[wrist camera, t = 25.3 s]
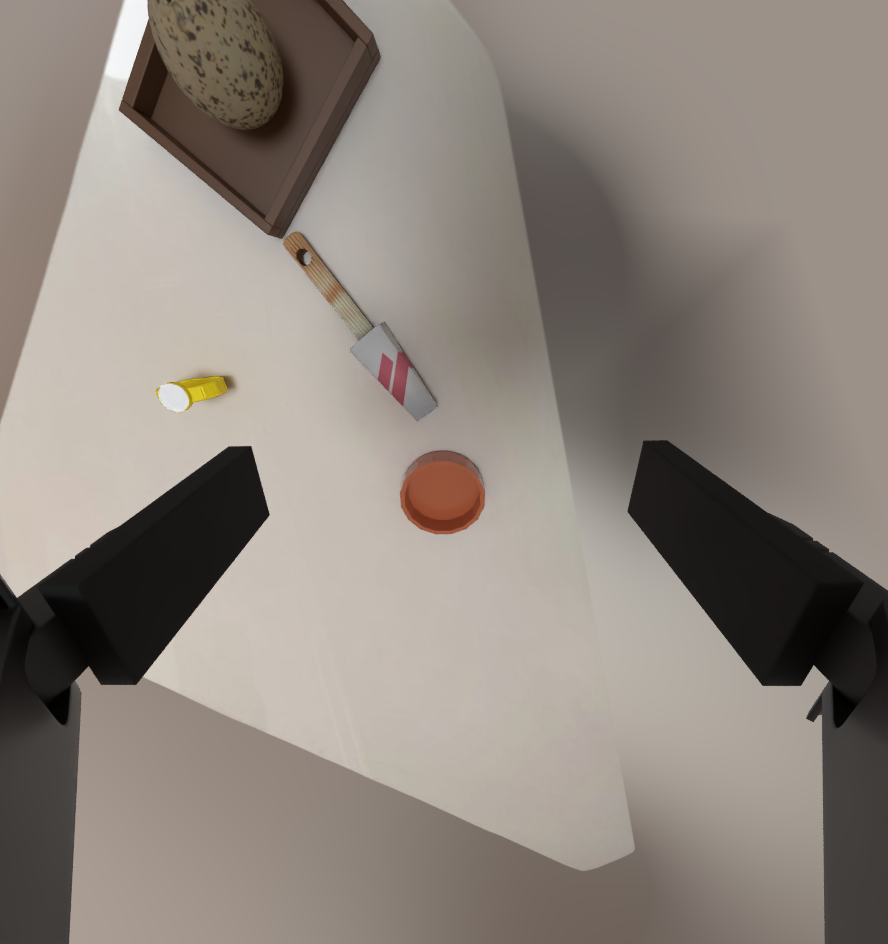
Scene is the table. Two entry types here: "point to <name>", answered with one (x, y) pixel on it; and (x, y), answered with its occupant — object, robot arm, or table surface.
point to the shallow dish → (442, 493)
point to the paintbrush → (367, 336)
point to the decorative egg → (220, 58)
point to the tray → (287, 133)
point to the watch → (190, 392)
